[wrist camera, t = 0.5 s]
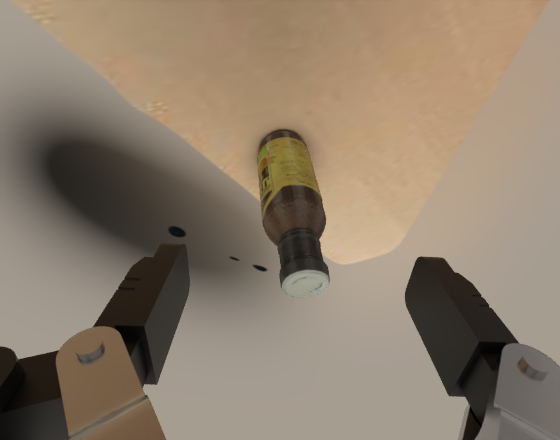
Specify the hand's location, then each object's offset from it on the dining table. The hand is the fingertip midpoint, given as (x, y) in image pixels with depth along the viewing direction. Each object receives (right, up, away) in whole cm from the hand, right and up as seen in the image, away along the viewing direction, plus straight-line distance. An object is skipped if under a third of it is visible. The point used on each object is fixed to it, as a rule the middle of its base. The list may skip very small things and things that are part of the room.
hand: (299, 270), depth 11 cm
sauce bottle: (0, +10, +29) cm, 31 cm away
